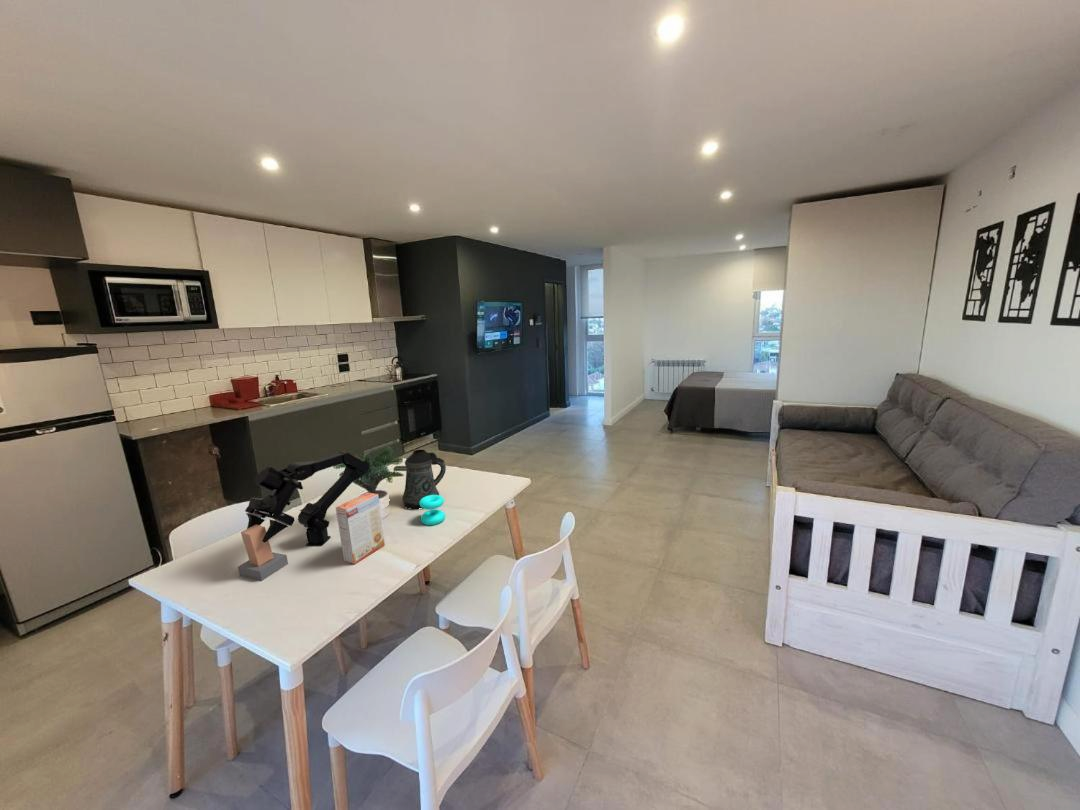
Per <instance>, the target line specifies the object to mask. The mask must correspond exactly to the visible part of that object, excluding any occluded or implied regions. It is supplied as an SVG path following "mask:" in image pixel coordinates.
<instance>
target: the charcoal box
mask: <svg viewBox="0 0 1080 810" xmlns="http://www.w3.org/2000/svg"><path fill="white" fill-rule="evenodd" d="M272 553H273V557H274V558H272V559H271V560H269V561H267V562H266V563H264V564H262V565H261V566H257V565H254V564H251V563H250V561H249V559H248V560H247V561H245V562H243V563H241V564H239V565H238V566H237V569H238V574H239V575H238V576H239V577H242V578H247V579H251V580H254V581H259V582H263V581H264V580H266V579H267V578H269V577H270V576H272V575H273V574H275V573H277V572H279V571H280V570H281V569H283V568H285V567H286V566H287V565H289V562H288V557H287V554H283V553H279V552H273V551H272Z"/></svg>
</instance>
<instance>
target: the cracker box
mask: <svg viewBox="0 0 1080 810" xmlns="http://www.w3.org/2000/svg"><path fill="white" fill-rule="evenodd" d="M335 512H336V518H337V524H338V531H339V537H340V538H339V539H340V544H341V549H342V556H343V562H347V563H349V564H352V565H356V564H357V563H360V562H361V561H362V560H364V559H366V558H367V557H368V556H370V555H371V554H373V553H375V552H376V551H378V550H379V549H381V548H382V547H384V546H385V545H386V544H385V535H384V529H383V528H384V527H383V522H382V521H383V520H382V515H381V506H380V499H379V494H378V493H373V492H366V493H363V494H362V495H361V494H360V495H359V496H358V497H355V498H353V499H350V500H348V501H346V502H344V503H342V504H340V505H338V506H336V507H335Z"/></svg>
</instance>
